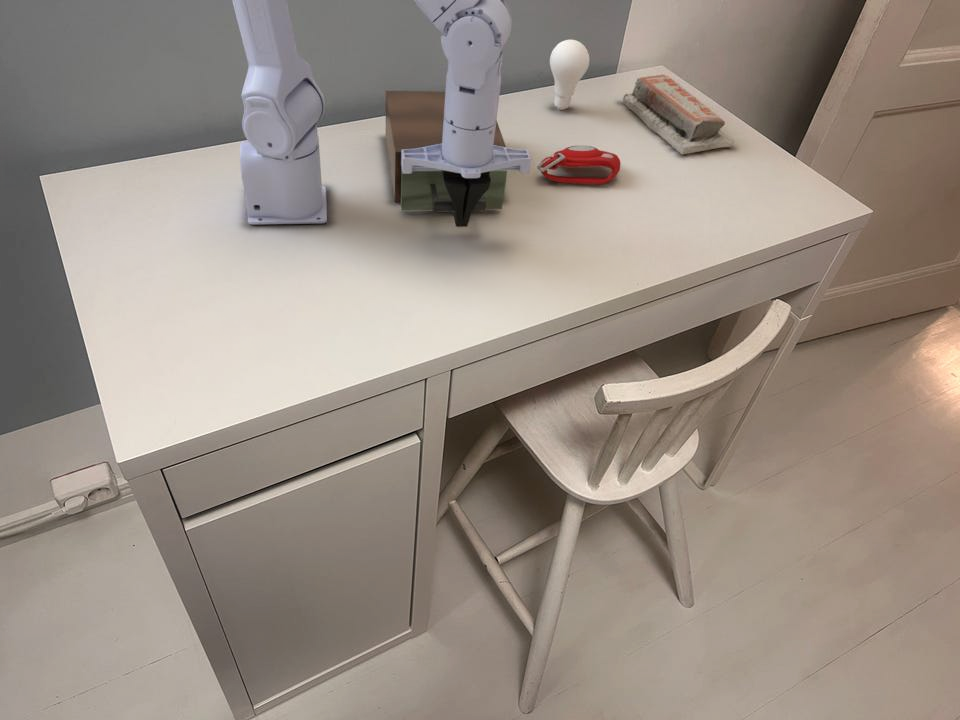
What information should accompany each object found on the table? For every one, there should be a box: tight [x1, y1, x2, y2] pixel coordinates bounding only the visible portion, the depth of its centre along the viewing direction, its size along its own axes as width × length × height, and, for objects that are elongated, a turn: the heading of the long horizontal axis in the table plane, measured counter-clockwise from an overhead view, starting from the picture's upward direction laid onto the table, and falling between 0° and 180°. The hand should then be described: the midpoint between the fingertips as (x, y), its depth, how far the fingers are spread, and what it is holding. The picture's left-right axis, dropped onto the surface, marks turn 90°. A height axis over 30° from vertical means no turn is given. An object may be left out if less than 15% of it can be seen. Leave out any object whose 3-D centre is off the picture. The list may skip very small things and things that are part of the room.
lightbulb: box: [549, 39, 590, 111], centre depth 115 cm, size 6×6×11 cm
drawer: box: [400, 166, 508, 213], centre depth 96 cm, size 20×13×6 cm, turn 10°
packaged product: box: [622, 74, 735, 155], centre depth 117 cm, size 18×5×10 cm
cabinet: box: [385, 90, 507, 203], centre depth 100 cm, size 16×14×7 cm
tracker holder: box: [536, 145, 621, 185], centre depth 103 cm, size 12×4×10 cm
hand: (460, 222), depth 88 cm, fingers closed, pressing on drawer
